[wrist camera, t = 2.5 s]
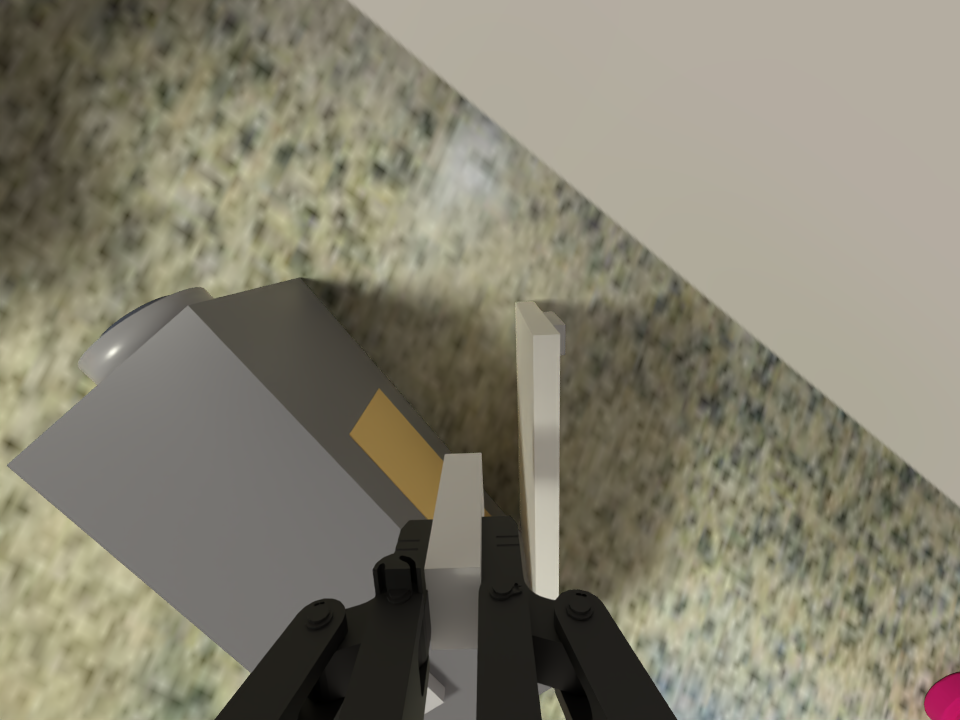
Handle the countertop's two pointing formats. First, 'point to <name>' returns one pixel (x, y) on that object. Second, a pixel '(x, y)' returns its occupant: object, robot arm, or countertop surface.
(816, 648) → the countertop surface
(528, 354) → the side door
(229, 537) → the camera body
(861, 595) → the countertop surface
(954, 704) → the pepper mill
